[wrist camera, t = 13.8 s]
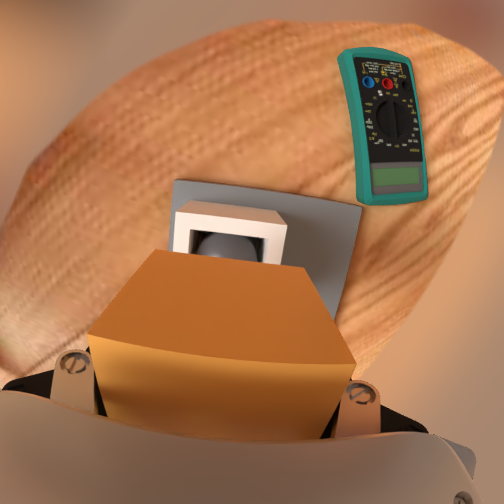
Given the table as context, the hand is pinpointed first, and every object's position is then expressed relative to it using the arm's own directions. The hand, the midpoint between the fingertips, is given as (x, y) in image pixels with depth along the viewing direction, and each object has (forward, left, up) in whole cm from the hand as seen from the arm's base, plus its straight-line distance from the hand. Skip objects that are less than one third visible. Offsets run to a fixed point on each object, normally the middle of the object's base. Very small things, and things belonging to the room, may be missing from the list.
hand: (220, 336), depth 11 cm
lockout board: (-4, -3, -15) cm, 16 cm away
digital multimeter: (+13, -12, -15) cm, 24 cm away
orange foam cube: (0, 0, -1) cm, 1 cm away
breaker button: (0, 0, -13) cm, 13 cm away
